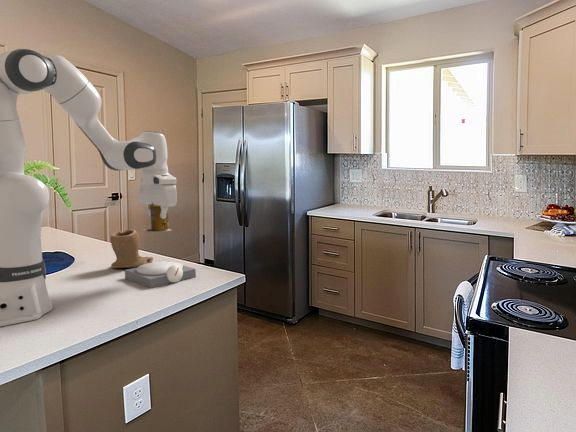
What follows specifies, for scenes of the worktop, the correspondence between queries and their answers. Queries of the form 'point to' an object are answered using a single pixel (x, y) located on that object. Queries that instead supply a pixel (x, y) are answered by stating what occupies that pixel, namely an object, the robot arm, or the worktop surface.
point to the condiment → (157, 220)
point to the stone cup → (127, 250)
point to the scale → (159, 273)
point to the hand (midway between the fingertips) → (157, 217)
